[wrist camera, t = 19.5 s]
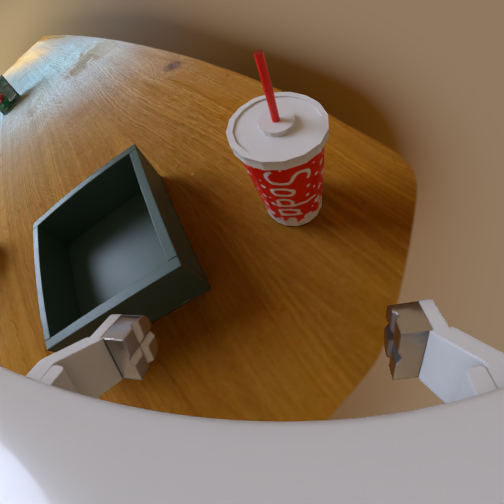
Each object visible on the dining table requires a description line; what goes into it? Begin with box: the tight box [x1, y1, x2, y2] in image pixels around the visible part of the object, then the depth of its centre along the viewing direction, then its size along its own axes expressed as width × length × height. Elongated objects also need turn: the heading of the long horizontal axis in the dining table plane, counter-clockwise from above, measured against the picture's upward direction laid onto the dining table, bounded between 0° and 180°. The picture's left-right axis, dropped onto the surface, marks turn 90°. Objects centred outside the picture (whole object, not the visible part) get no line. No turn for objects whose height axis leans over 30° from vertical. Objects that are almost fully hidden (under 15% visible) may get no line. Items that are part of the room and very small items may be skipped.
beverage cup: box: [226, 50, 329, 226], centre depth 18 cm, size 6×6×14 cm
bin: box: [33, 144, 211, 352], centre depth 24 cm, size 14×14×5 cm
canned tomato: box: [0, 75, 20, 115], centre depth 56 cm, size 8×8×11 cm
